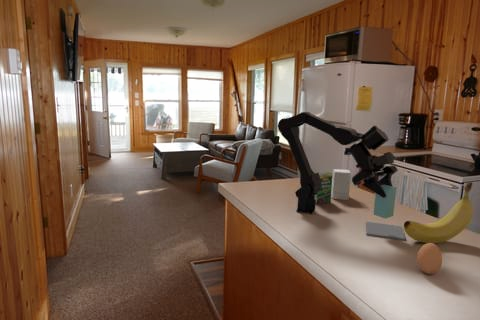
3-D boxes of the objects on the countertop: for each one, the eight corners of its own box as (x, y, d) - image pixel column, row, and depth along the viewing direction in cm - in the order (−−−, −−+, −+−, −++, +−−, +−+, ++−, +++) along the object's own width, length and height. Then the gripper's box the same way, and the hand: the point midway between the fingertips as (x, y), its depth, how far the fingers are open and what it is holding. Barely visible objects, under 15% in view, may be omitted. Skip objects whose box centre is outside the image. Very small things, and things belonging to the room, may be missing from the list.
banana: (407, 246, 107) (415, 184, 103) (397, 238, 113) (404, 180, 109) (472, 244, 110) (482, 184, 106) (459, 236, 116) (468, 179, 112)
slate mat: (366, 234, 115) (366, 233, 115) (365, 223, 126) (366, 221, 126) (405, 240, 111) (405, 238, 111) (401, 227, 122) (401, 226, 122)
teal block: (373, 214, 116) (376, 186, 114) (381, 212, 119) (384, 184, 117) (385, 218, 113) (388, 189, 111) (393, 216, 115) (396, 187, 113)
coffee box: (316, 204, 147) (318, 174, 144) (312, 202, 149) (314, 173, 147) (331, 202, 150) (333, 173, 148) (326, 200, 153) (329, 172, 150)
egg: (429, 280, 87) (434, 249, 86) (410, 269, 92) (414, 240, 91) (445, 276, 89) (449, 246, 88) (425, 266, 94) (429, 237, 93)
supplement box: (348, 200, 154) (351, 173, 152) (331, 198, 156) (334, 171, 153) (347, 195, 161) (349, 169, 159) (331, 194, 163) (333, 168, 161)
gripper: (362, 146, 109) (390, 187, 102) (395, 142, 120) (423, 179, 113) (340, 165, 117) (365, 205, 110) (373, 160, 128) (398, 196, 121)
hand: (389, 196), depth 113 cm, fingers closed on teal block, 4 cm apart
